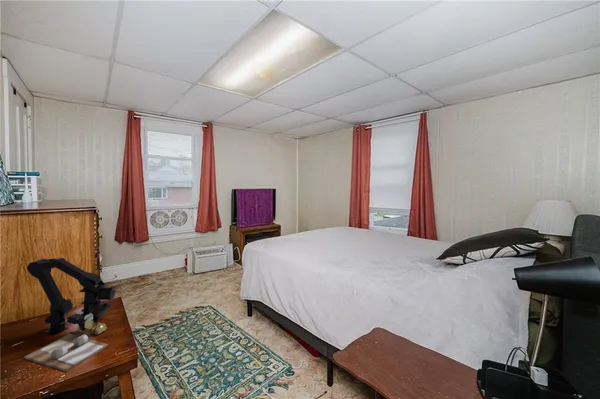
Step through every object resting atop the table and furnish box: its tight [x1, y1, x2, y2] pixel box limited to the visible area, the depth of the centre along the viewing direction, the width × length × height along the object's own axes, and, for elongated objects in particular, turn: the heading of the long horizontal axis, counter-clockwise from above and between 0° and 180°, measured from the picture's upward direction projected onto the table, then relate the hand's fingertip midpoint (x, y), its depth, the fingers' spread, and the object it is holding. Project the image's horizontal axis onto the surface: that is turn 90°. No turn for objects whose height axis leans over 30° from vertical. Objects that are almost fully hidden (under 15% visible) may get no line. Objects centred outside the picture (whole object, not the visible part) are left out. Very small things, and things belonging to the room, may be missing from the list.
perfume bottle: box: [76, 320, 108, 336], centre depth 133 cm, size 13×6×4 cm, turn 78°
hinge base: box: [23, 333, 109, 372], centre depth 116 cm, size 24×18×5 cm
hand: (89, 327), depth 134 cm, fingers closed on perfume bottle, 6 cm apart
